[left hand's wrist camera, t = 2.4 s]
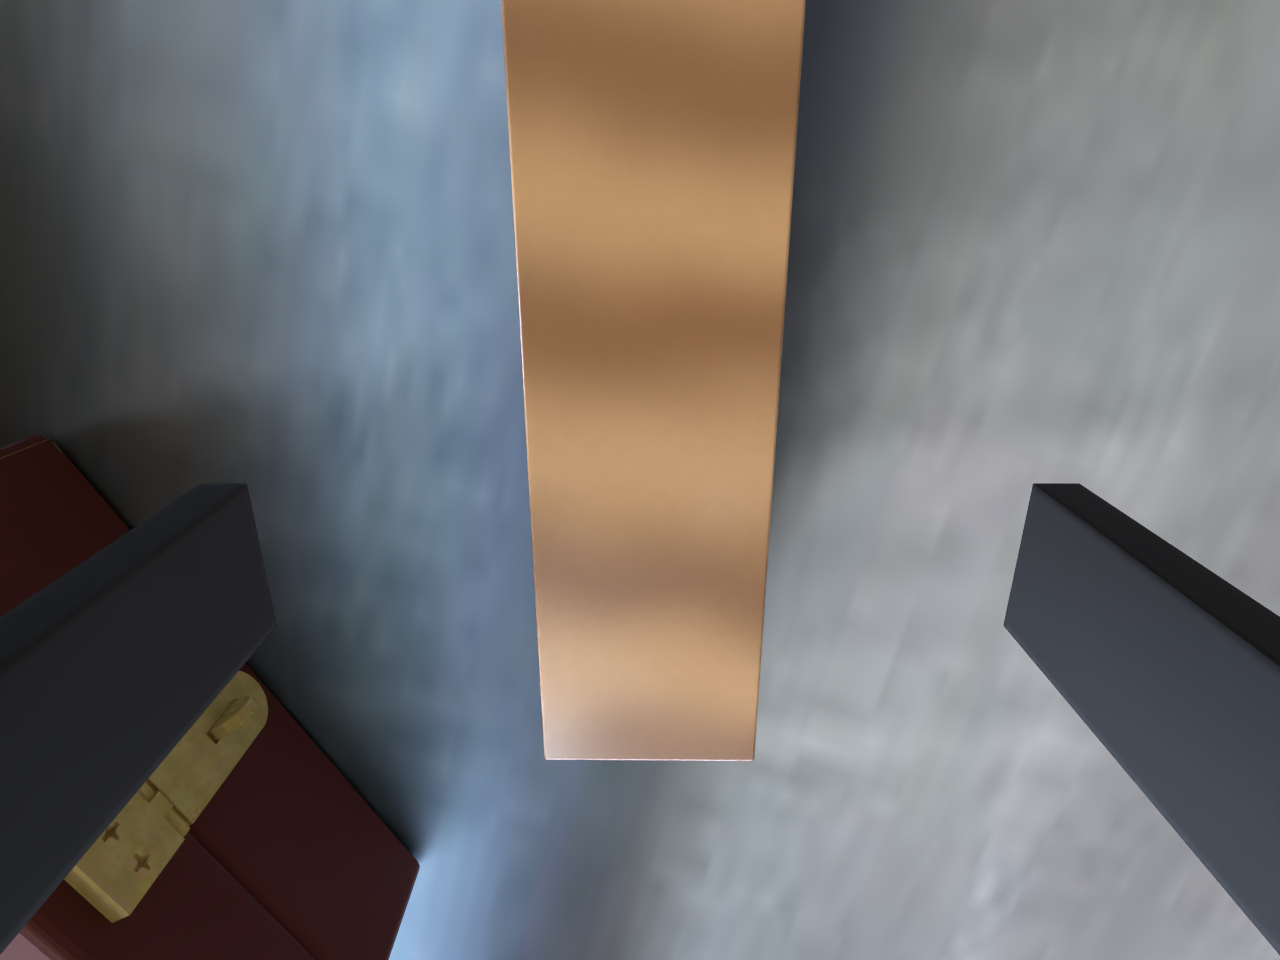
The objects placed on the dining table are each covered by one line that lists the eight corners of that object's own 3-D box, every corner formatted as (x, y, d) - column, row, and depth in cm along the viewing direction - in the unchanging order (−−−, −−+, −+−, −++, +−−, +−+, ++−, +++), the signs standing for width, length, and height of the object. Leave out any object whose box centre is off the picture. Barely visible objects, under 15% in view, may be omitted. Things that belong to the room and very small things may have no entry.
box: (454, 856, 29) (363, 1164, 20) (140, 992, 32) (-69, 1317, 23) (76, 407, 23) (-321, 549, 13) (-273, 627, 26) (-798, 870, 16)
